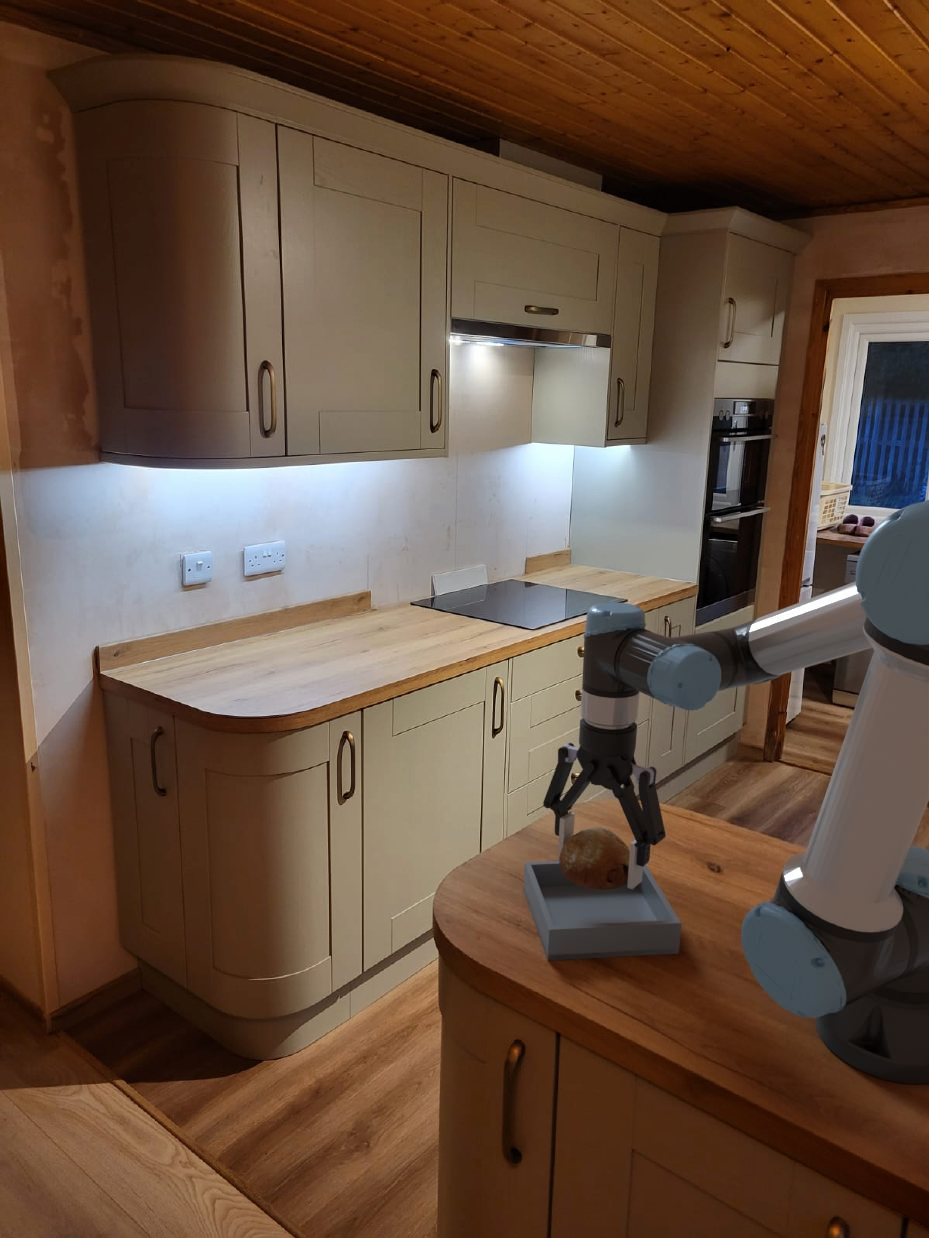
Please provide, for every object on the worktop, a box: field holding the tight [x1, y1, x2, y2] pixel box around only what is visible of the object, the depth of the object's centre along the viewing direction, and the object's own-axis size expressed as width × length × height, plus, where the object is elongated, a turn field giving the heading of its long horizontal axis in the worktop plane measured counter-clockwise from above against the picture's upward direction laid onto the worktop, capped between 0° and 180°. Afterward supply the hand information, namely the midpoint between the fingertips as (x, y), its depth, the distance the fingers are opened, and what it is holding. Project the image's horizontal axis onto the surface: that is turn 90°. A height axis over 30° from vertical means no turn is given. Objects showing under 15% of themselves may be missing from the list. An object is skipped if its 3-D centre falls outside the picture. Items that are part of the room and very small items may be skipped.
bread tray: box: [523, 860, 682, 961], centre depth 130 cm, size 18×18×4 cm
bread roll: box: [559, 826, 630, 890], centre depth 129 cm, size 10×10×8 cm
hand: (599, 870), depth 129 cm, fingers closed on bread roll, 10 cm apart
